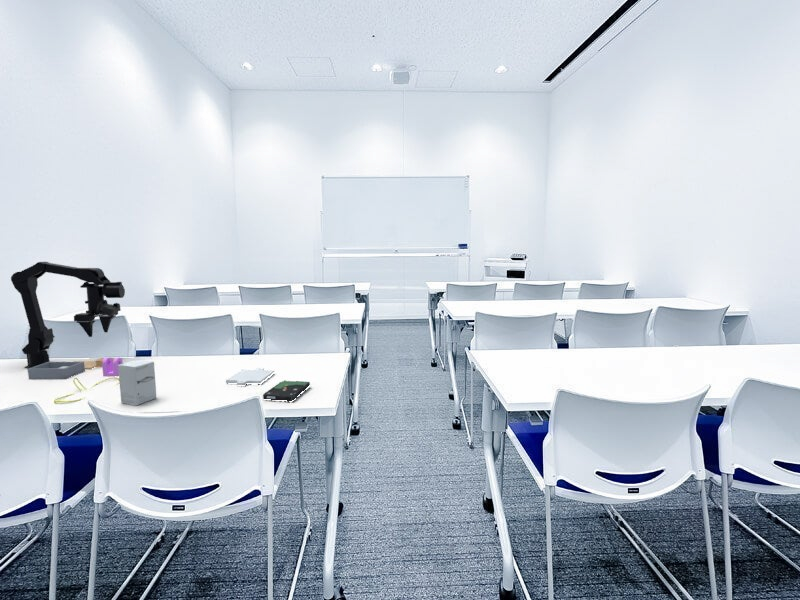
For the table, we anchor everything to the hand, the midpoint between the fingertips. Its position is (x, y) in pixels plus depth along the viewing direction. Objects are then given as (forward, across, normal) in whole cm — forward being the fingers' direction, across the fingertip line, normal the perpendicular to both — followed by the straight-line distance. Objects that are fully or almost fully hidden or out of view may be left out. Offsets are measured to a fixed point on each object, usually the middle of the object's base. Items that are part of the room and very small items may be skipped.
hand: (98, 334), depth 185 cm
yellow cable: (+13, -35, -21) cm, 43 cm away
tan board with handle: (+12, -5, +2) cm, 13 cm away
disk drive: (+12, -37, -91) cm, 99 cm away
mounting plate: (+12, -22, -73) cm, 77 cm away
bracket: (+12, -12, -18) cm, 25 cm away
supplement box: (+12, -44, -45) cm, 64 cm away
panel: (+12, -18, +4) cm, 22 cm away
